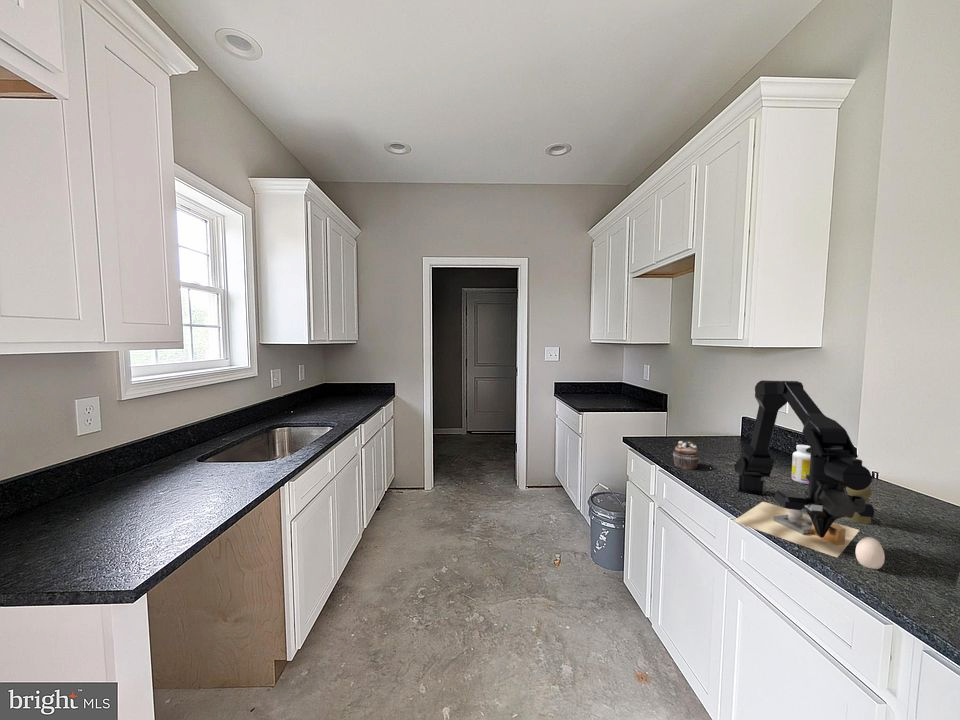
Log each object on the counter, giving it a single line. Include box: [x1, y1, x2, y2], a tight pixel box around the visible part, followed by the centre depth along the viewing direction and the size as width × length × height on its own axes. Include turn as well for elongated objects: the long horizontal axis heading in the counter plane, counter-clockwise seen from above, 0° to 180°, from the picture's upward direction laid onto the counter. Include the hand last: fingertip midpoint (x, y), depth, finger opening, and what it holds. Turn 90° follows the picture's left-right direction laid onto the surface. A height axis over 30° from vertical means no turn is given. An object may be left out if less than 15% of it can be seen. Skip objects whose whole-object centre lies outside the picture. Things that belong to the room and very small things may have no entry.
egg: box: [855, 536, 886, 570], centre depth 88 cm, size 5×5×7 cm
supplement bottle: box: [791, 444, 811, 485], centre depth 142 cm, size 7×7×13 cm
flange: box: [773, 515, 846, 546], centre depth 104 cm, size 14×8×4 cm, turn 14°
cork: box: [843, 486, 873, 525], centre depth 110 cm, size 6×6×11 cm
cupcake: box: [672, 439, 701, 470], centre depth 158 cm, size 10×10×10 cm
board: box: [732, 501, 860, 558], centre depth 107 cm, size 22×22×5 cm
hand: (820, 536), depth 98 cm, fingers closed
